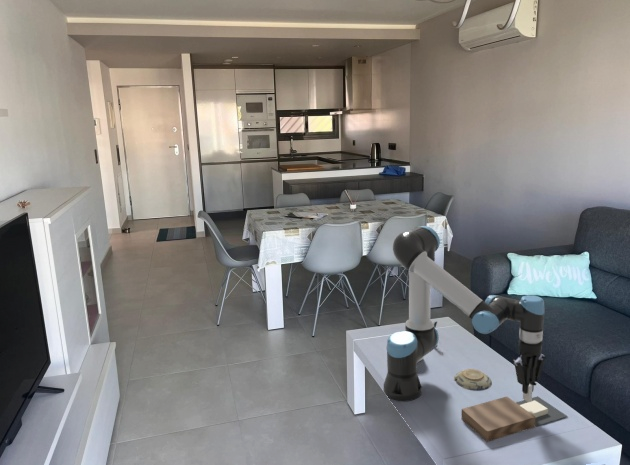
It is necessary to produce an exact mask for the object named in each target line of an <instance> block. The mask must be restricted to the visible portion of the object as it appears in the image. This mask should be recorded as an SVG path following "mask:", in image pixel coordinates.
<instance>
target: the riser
mask: <svg viewBox="0 0 630 465" xmlns="http://www.w3.org/2000/svg"><path fill="white" fill-rule="evenodd" d="M461 420H462V421H463V422H464V423H465V424H467V425H468V426H469V427H470V428H471V429H472V430H473V431H474V432H476V434H478V435H479V436H480V437H481V438H482V439H484V441H486V442H487V443H488V442H491V441H492V442H493V441H494V440H498V439H502V438H504V437H507V436H511V435H514V434H517V433H521V432H524V431H528V430H530V429H533V428H535V427H536V426H535V416H534V415H532V414H531V413H529V412H528V411H527V410H525V409H524V408H522V407H521V406H520V405H518V404H517V403H516V402H515V401H514V400H512V399H511V398H510V397H508V396H504V397H500V398H496V399H492V400H489V401H485V402H481V403H479V404H474V405H470V406H467V407H464V408H461Z"/></svg>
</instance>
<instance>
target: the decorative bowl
mask: <svg viewBox="0 0 630 465" xmlns="http://www.w3.org/2000/svg"><path fill="white" fill-rule="evenodd" d="M453 380H454V381H456V382H455V383H456V385H458V386H459V387H461V388H462V389H465V390H470V391H484V390H488V389H489V388H491V387H492V384H493V382H492V379H491V378H490V377H489V376H488V375H487V373H485V372H482V371H480V370H478V369H474V368H467V369H464V370H462V371H459V372H458V373H456V374H455V376H454V378H453Z"/></svg>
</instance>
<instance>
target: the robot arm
mask: <svg viewBox="0 0 630 465" xmlns="http://www.w3.org/2000/svg"><path fill="white" fill-rule="evenodd" d="M440 240H441V239H440V237H439V234H438V232H437V231H435V229H434V228H432V227H431V226H428V225H427V226H426V225H422V226H415V227H414V228H412V229H409V230H406V231H403V232H401V233H399V234H398V235H397V236H396V237H395V238H394V240H393V245H392V251H393V254H394V257H395V259H396V260H397V262H399V264H400V265H401V266H402V267H403V268H404V269H405V270H406V271H408V319H407V320H406V321H405V328H404V329H405V330H401V331H395V332H393V333H392V334H391V335H389V337H388V338H387V342H386V355H387V356H386V359H387V360H386V362H387V363H386V364H387V366H386V367H387V373H386V377H385V378H384V383H383V393H384V395H386V397H388V398H390V399H392V400H395V401H398V402H400V401H401V402H409V401H413V400H416V399H418V398H419V397H420V396H421V395H422V393H423V392H422V390H423V389H422V388H423V387H422V384H421V380H420V377H419V375H418V362H417V361H418V360H419V359H421V358H422V357H423V358H424V357H425V356H427V355H428V354H429V353H431V352H432V351H433V350H434V349H435V348H436V347H437V345H438V343H439V338H440V337H439V332H438V329H436V327H434V323H435V322H433V321H432V320H431V290H432V289H431V288H433V289H435V291H437V292H438V293H439V294H440V295H441V296H442V297H443V298H445V299H447V300H448V301H449V302H450V303H451V304H452V305H454V306H455V307H457V308H458V309H459V310H460V311H461V312H463V314H465V315H466V316H467V317H469V319H471V324H472V326H473V328H474V330H475V331H477V333H479V334H483V335H487V334H490V333H493V331H495V330H497V329H498V328H499V326H501V325H502V324H503V323H504V322H505V321H506V320H509V321H512V322H513V321H514V322H518V323H519V328H518V329H519V332H518V334H519V335H518V338H519V339H518V350H519V353H518V357H517V358H516V359H512V363H513V365H514V369H515V374H516V380H517V383H519V384H520V385H522V390H521V392H522V399H523V400H525V401H527V402H528V403H529V402H532V398H533V392H534V386H537V382H540V378H541V374H542V370H543V366H544V363H545V361H546V359H547V356H546V355H544V354H542V351H543V339H544V338H543V336H544V333H543V332H544V321H545V313H546V311H545V301H544V299H543V298H542V297H540V296H537V295H533V294H532V295H530V294H527V295H523V296H522V297H521V298H520V300H519V299H514V298H511V297H505V296H501V295H494V294H490V295H488V296H487V297H486V299H485V301H484V300H483V299H482V298H480V297H479V296H478V295H477V294H475V293H474V292H473V291H472V290H470V289H469V288H468V287H467V286H465V285H464V284H462V282H460V281H459V280H458V279H457V278H455V277H454V276H453V275H452V274H450V273H449V272H448V271H447V270H445V269H444V268H442V267H441V266H440V265H439V264H438V263H437V262H436V261H435V260H436V257H435V256H436V251H438V249H439V248H440V244H441V242H440Z"/></svg>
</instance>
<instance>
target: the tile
mask: <svg viewBox="0 0 630 465" xmlns="http://www.w3.org/2000/svg"><path fill="white" fill-rule="evenodd" d="M520 406H521V407H522V408H524V409H525V410H527V411H528V412H529V413H531V414H532V415H534V416H535V418H536V417H539V416H542V415H545V414H548V408H546V407H545V406H543V405H541V404H540V403H538V402H537V401H535V400H534V401H532V402H529V403H525V404H522V405H520Z"/></svg>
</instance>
